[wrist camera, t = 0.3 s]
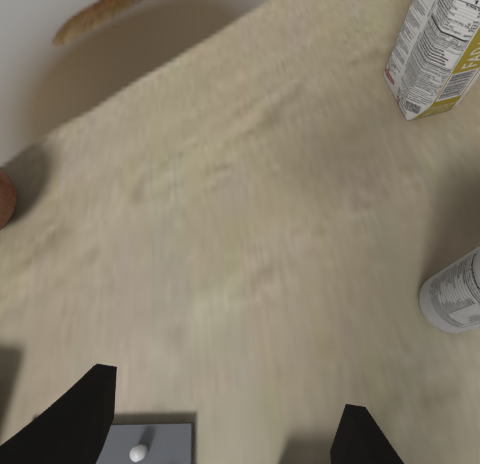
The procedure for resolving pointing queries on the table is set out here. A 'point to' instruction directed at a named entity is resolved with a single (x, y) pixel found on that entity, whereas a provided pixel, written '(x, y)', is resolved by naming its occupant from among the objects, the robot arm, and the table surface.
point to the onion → (6, 198)
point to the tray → (148, 444)
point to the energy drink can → (454, 295)
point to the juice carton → (435, 56)
